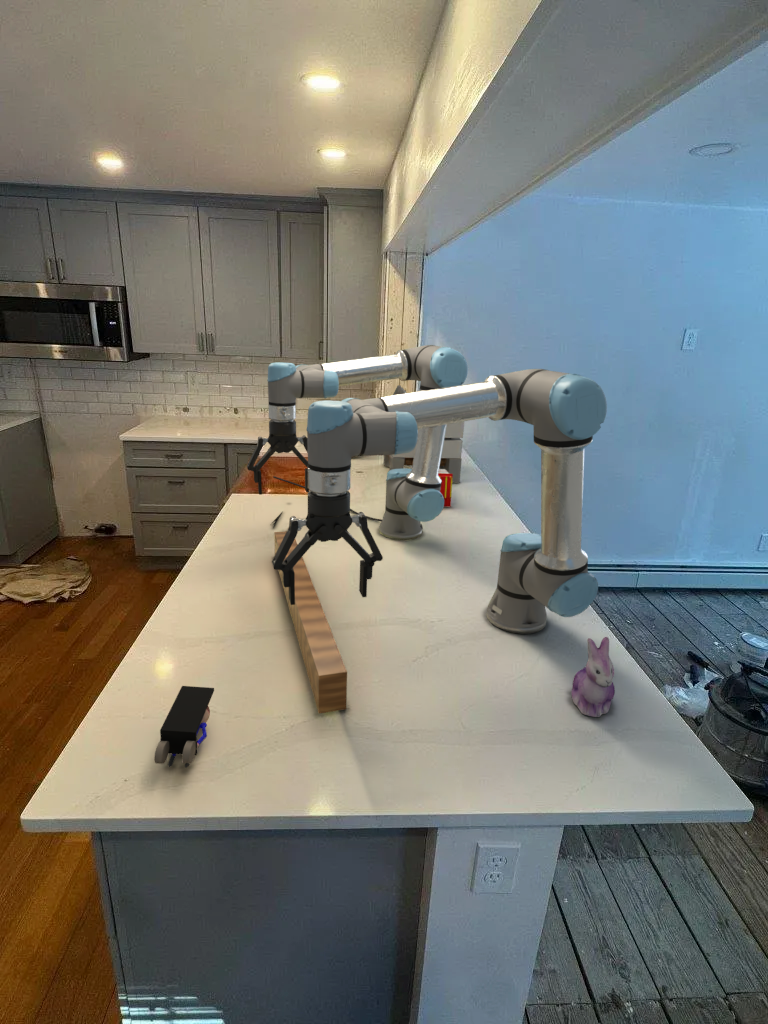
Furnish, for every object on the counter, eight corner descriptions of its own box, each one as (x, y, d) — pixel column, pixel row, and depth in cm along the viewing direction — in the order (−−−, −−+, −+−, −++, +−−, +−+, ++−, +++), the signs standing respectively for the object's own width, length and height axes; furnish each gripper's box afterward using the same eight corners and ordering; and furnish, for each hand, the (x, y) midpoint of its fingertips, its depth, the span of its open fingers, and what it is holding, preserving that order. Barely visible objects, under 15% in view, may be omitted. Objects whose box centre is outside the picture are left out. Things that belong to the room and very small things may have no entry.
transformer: (382, 463, 289) (386, 382, 275) (445, 464, 293) (451, 384, 279) (390, 482, 257) (394, 392, 243) (460, 483, 261) (468, 394, 247)
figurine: (594, 725, 110) (608, 660, 105) (557, 694, 119) (568, 632, 114) (628, 712, 114) (643, 648, 109) (590, 683, 123) (602, 622, 118)
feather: (289, 506, 225) (292, 502, 225) (272, 529, 199) (275, 525, 198) (286, 503, 225) (288, 500, 225) (268, 527, 199) (271, 522, 198)
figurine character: (196, 782, 95) (218, 713, 108) (191, 750, 92) (215, 683, 105) (155, 781, 95) (183, 712, 108) (149, 749, 91) (178, 682, 105)
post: (274, 558, 177) (274, 531, 174) (292, 556, 178) (292, 530, 175) (318, 713, 110) (318, 675, 107) (346, 709, 112) (347, 671, 109)
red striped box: (446, 465, 254) (456, 474, 224) (444, 494, 256) (454, 507, 227) (419, 464, 253) (426, 473, 224) (418, 493, 256) (424, 507, 227)
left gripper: (237, 423, 152) (240, 498, 159) (329, 421, 159) (328, 493, 166) (235, 417, 158) (239, 490, 166) (323, 416, 165) (323, 486, 173)
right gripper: (258, 501, 93) (262, 614, 100) (402, 493, 100) (396, 600, 107) (254, 487, 100) (258, 594, 107) (390, 481, 107) (385, 582, 114)
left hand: (283, 492), depth 166 cm, fingers open, 13 cm apart
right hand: (327, 597), depth 107 cm, fingers open, 13 cm apart
